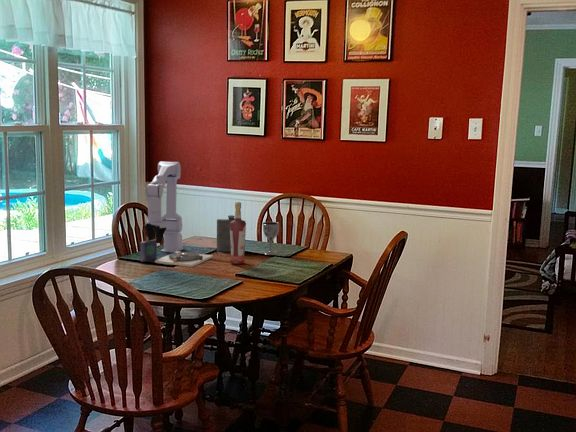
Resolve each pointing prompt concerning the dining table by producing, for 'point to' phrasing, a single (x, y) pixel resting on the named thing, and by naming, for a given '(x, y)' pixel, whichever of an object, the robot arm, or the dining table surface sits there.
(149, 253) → the blue grey box
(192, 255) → the flange plate
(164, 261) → the base board
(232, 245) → the liquor
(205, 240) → the dining table surface
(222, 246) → the flask
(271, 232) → the wine glass
